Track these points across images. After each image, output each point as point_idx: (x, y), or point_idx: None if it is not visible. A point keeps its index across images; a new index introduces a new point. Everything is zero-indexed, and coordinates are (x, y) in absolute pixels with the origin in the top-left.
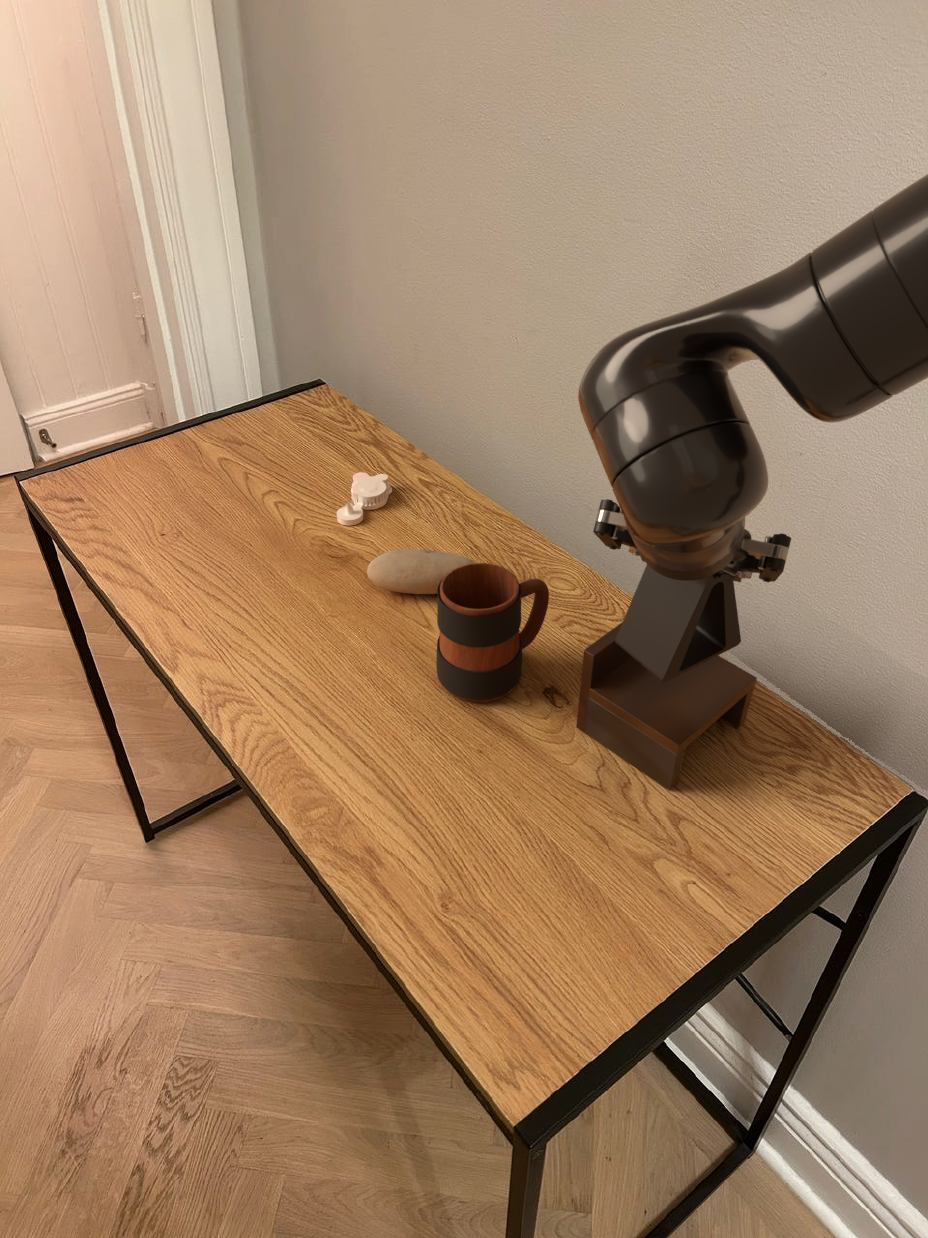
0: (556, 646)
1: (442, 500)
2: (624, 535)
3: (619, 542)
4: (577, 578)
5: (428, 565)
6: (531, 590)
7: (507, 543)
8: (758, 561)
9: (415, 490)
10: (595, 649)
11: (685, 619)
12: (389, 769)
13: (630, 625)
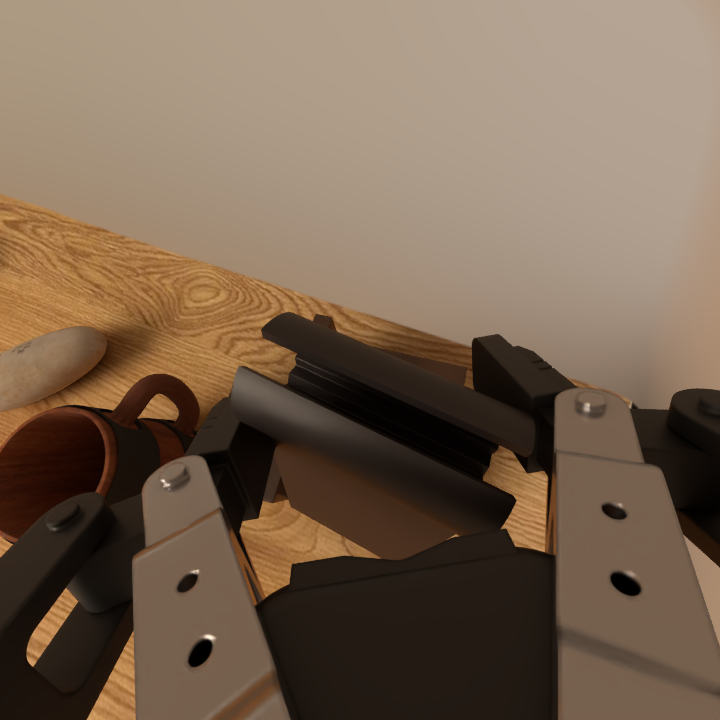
0: (231, 383)
1: (38, 239)
2: (127, 578)
3: (123, 625)
4: (215, 277)
5: (29, 372)
6: (142, 404)
7: (127, 265)
8: (665, 480)
9: (5, 239)
10: (269, 487)
11: (419, 545)
12: (123, 679)
13: (304, 504)
